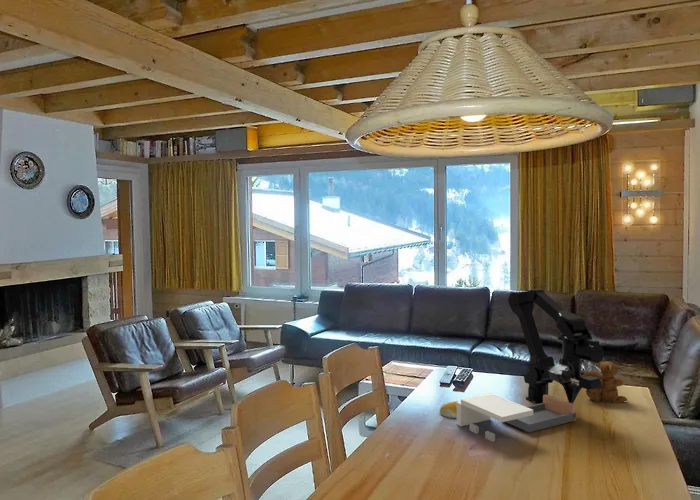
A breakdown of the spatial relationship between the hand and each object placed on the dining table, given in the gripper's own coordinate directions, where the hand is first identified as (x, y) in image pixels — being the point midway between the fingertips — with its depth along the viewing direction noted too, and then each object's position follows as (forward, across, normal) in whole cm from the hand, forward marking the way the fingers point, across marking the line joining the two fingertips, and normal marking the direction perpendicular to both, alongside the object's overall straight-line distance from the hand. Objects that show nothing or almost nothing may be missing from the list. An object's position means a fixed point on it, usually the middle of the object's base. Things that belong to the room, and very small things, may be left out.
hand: (571, 403), depth 189 cm
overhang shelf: (+3, 0, -32) cm, 33 cm away
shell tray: (+3, 0, -15) cm, 15 cm away
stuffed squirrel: (+4, -4, +21) cm, 22 cm away
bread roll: (+4, -19, -33) cm, 38 cm away
